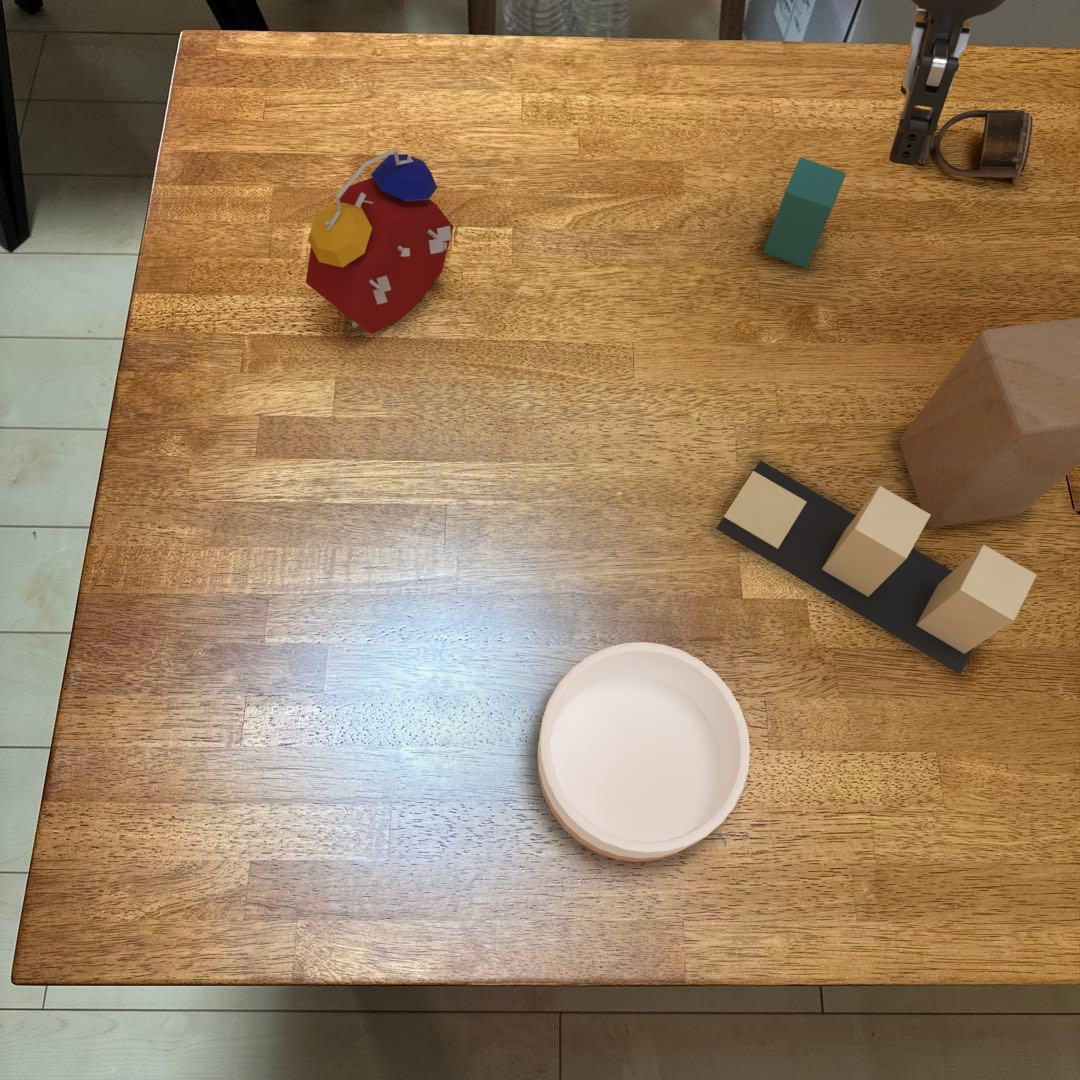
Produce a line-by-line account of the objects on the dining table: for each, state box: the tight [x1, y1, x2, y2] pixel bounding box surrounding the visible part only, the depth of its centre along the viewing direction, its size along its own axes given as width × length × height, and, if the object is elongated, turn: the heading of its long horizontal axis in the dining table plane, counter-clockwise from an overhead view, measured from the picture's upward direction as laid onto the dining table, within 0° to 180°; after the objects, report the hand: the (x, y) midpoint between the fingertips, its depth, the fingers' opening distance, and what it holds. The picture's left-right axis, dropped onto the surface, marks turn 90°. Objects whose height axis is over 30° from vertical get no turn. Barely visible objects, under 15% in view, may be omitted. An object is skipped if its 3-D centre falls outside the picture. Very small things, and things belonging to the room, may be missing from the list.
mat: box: [715, 460, 975, 675], centre depth 98 cm, size 26×9×1 cm, turn 57°
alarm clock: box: [305, 147, 454, 335], centre depth 99 cm, size 15×9×20 cm, turn 139°
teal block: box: [762, 157, 847, 269], centre depth 108 cm, size 5×5×10 cm
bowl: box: [536, 641, 751, 863], centre depth 86 cm, size 17×17×8 cm
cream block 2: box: [916, 544, 1037, 654], centre depth 91 cm, size 5×5×10 cm
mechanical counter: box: [917, 109, 1034, 186], centre depth 115 cm, size 7×13×10 cm
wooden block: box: [898, 317, 1080, 528], centre depth 93 cm, size 10×10×20 cm
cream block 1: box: [822, 485, 931, 597], centre depth 93 cm, size 5×5×10 cm
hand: (908, 126), depth 82 cm, fingers open, 8 cm apart
